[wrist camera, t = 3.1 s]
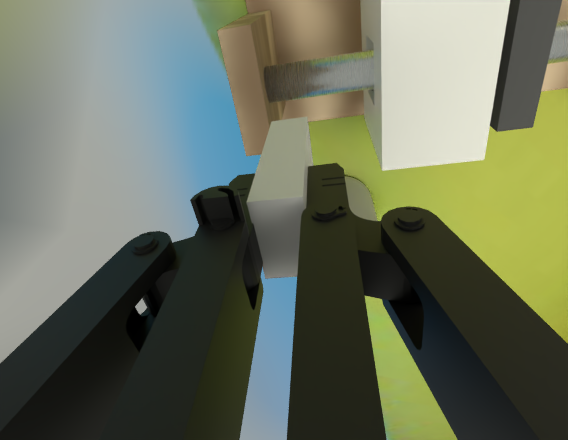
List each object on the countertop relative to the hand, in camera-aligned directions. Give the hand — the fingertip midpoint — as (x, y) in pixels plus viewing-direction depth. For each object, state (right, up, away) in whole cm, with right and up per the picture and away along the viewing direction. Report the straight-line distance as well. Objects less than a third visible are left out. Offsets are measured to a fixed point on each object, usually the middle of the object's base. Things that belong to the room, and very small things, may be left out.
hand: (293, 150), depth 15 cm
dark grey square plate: (+14, +10, +10) cm, 20 cm away
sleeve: (+9, +10, +12) cm, 18 cm away
